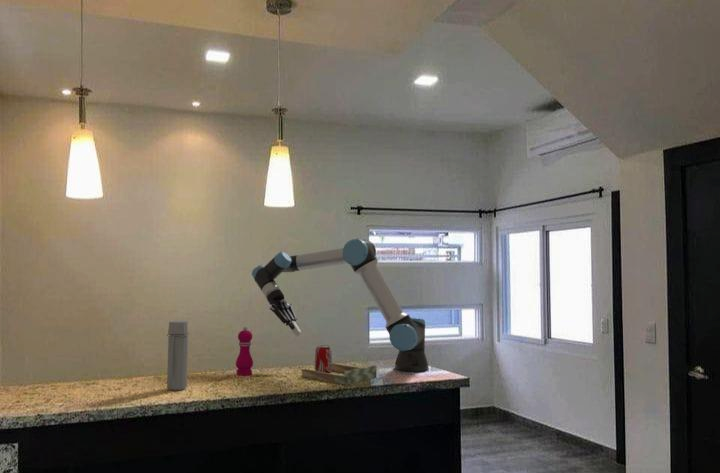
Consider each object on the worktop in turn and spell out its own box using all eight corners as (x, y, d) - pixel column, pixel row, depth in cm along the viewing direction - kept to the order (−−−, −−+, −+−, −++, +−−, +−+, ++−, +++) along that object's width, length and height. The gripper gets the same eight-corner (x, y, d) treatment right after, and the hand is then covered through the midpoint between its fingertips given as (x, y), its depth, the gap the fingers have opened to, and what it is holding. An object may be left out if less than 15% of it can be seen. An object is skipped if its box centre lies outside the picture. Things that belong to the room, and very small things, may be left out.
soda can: (323, 376, 259) (324, 347, 260) (311, 374, 263) (311, 346, 264) (334, 374, 265) (335, 346, 265) (322, 372, 269) (322, 344, 269)
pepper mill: (233, 375, 257) (234, 327, 258) (237, 372, 264) (238, 325, 265) (250, 376, 257) (252, 327, 257) (254, 372, 264) (255, 325, 265)
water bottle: (171, 386, 234) (173, 320, 235) (191, 387, 233) (193, 320, 234) (159, 391, 225) (161, 322, 226) (179, 392, 224) (181, 323, 224)
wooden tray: (332, 370, 274) (332, 358, 274) (376, 377, 259) (376, 365, 259) (301, 376, 258) (302, 364, 258) (346, 384, 243) (346, 371, 244)
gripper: (279, 299, 291) (304, 338, 280) (258, 300, 280) (283, 340, 270) (287, 288, 288) (313, 327, 277) (267, 289, 277) (293, 329, 267)
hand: (298, 334), depth 273 cm, fingers closed
